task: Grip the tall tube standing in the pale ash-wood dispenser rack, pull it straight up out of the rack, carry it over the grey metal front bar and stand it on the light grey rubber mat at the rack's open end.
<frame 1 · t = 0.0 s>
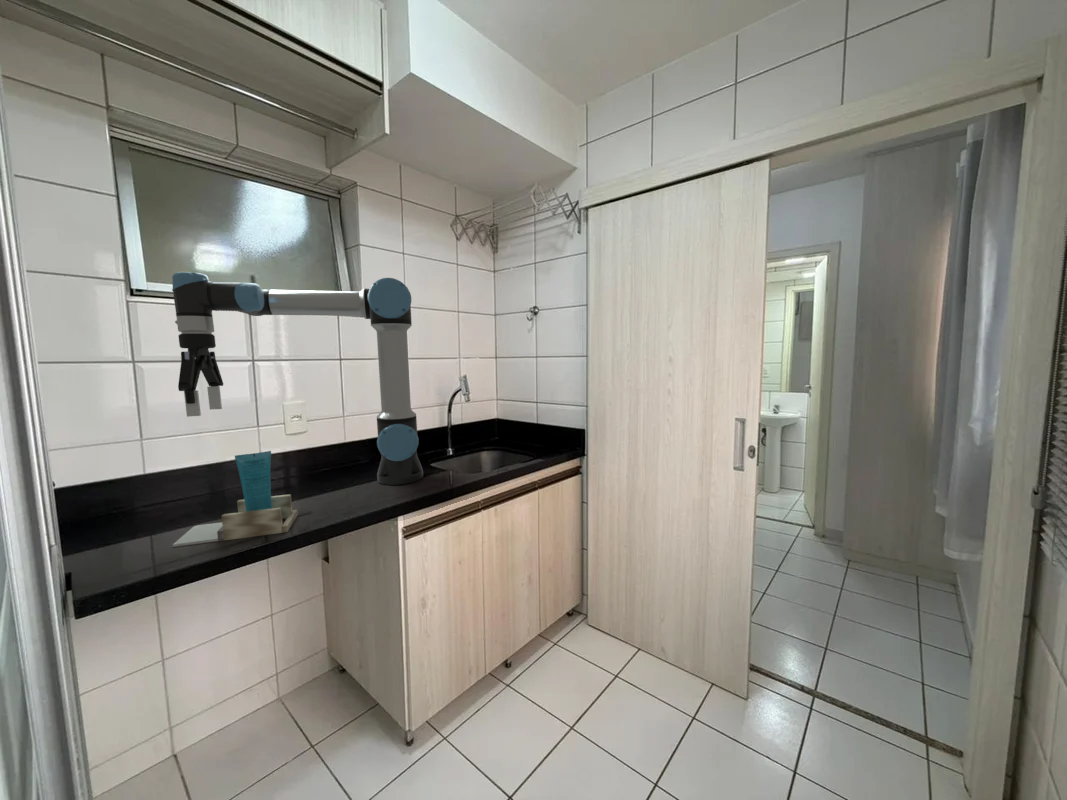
hand: (205, 412, 113), 28 cm above the countertop, fingers open, 13 cm apart
tube: (260, 528, 105), resting in rack
mat: (206, 534, 102), on the countertop
rack: (260, 527, 105), on the countertop
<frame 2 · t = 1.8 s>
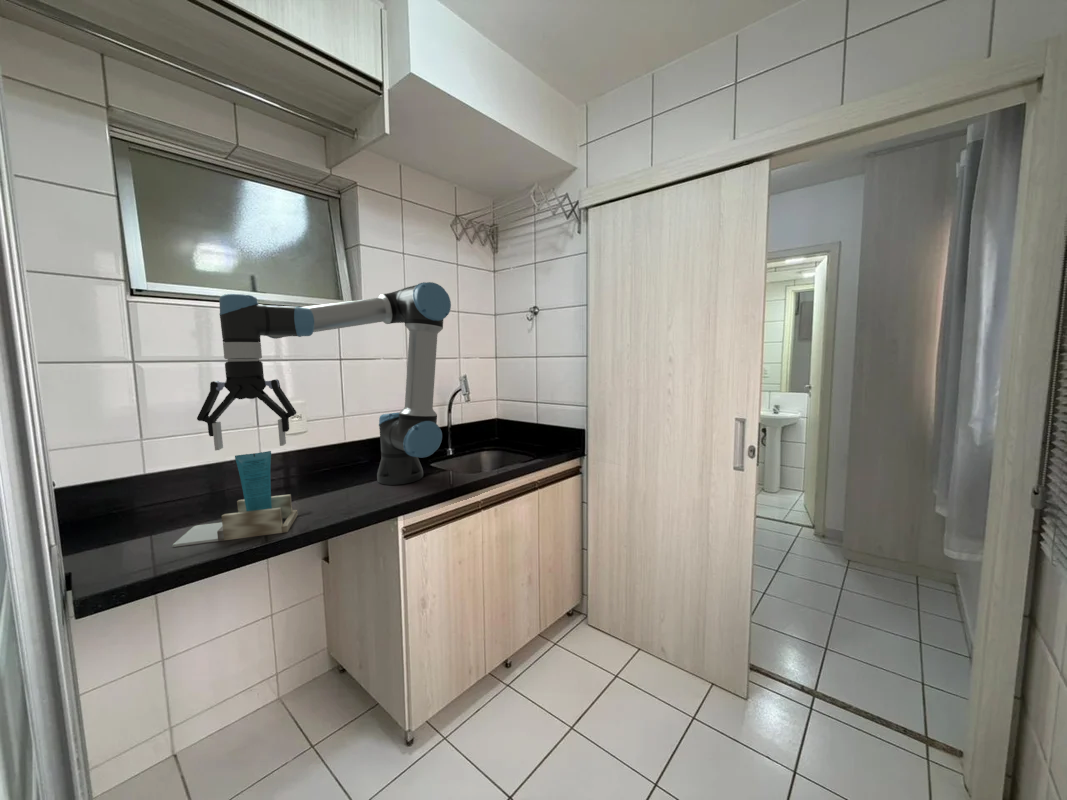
hand: (251, 447, 103), 21 cm above the countertop, fingers open, 13 cm apart
nothing on the countertop moved.
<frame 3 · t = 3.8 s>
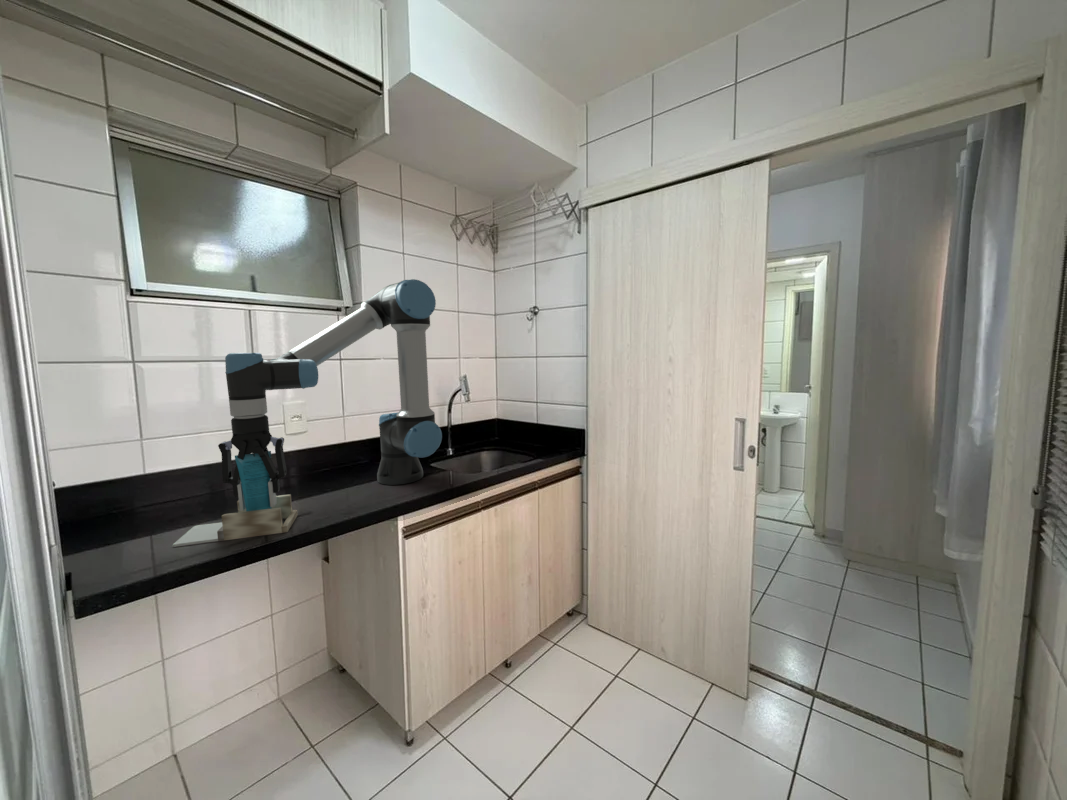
hand: (258, 506, 105), 5 cm above the countertop, fingers closed on tube, 6 cm apart
tube: (260, 528, 105), resting in rack, touching gripper
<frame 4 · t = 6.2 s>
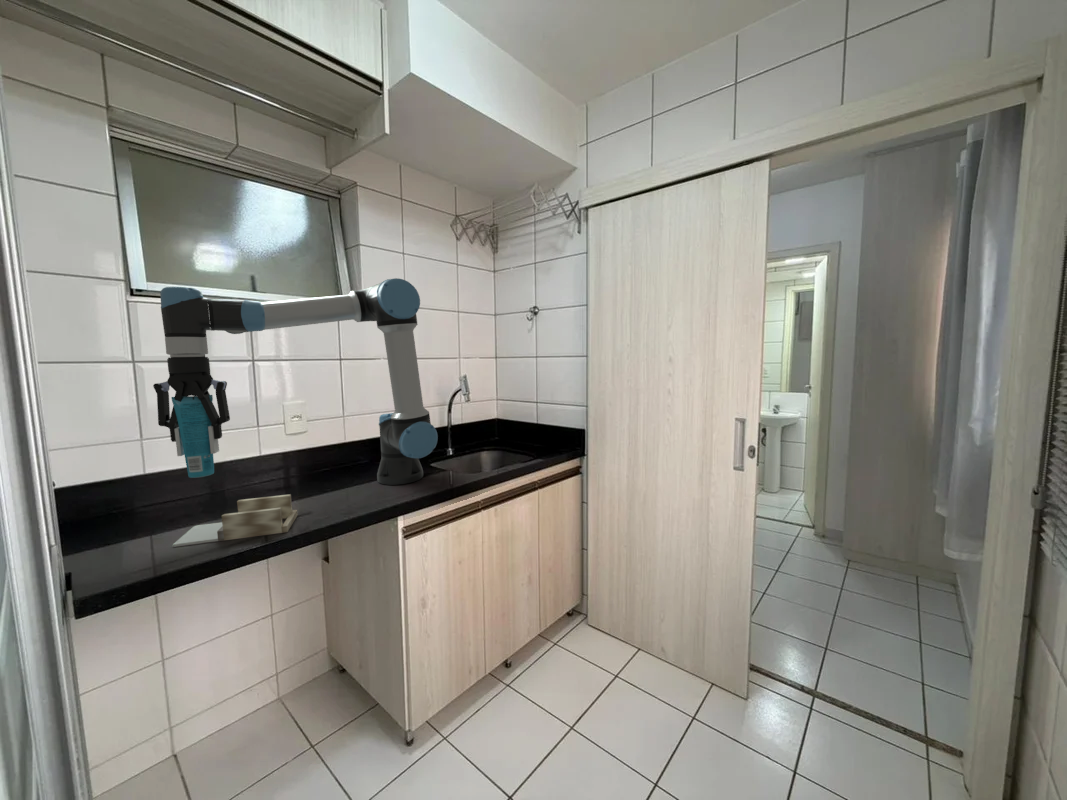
hand: (198, 453, 99), 20 cm above the countertop, fingers closed on tube, 6 cm apart
tube: (201, 476, 100), point 15 cm above the countertop, touching gripper
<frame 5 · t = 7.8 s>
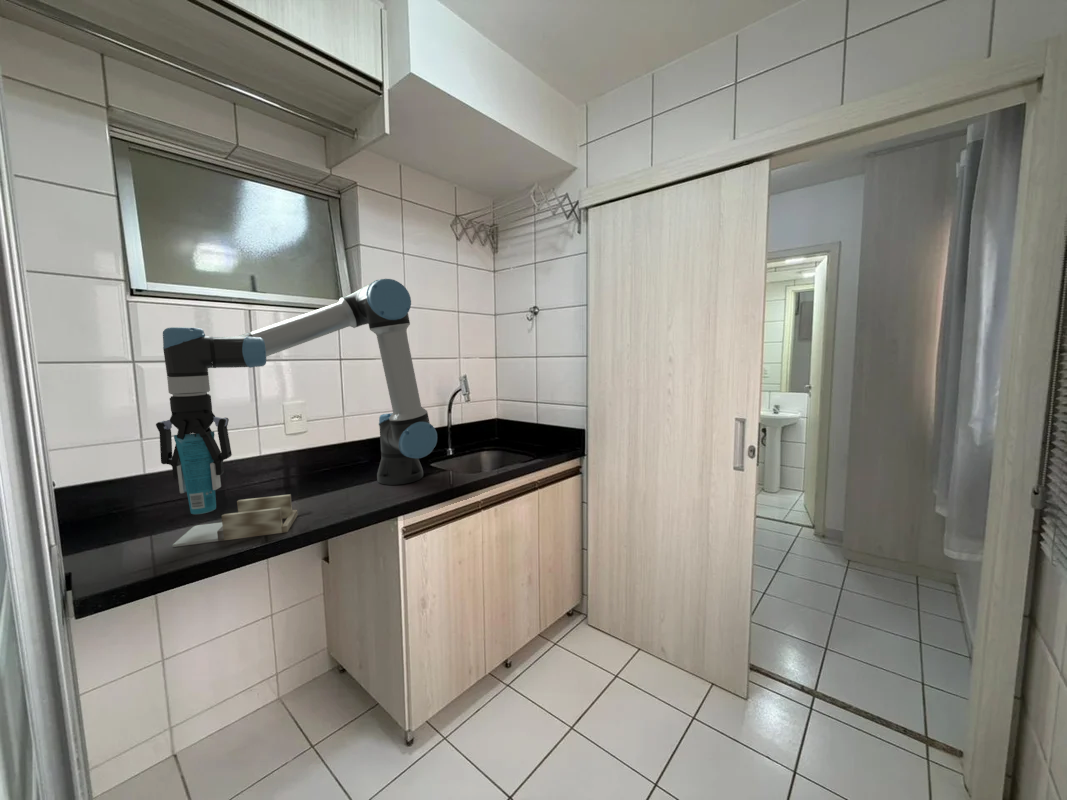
hand: (201, 489, 100), 11 cm above the countertop, fingers closed on tube, 6 cm apart
tube: (203, 511, 101), point 6 cm above the countertop, touching gripper
when the fingers open (7 cm above the countertop, at t = 8.9 s): tube drops 1 cm, point 1 cm above the countertop.
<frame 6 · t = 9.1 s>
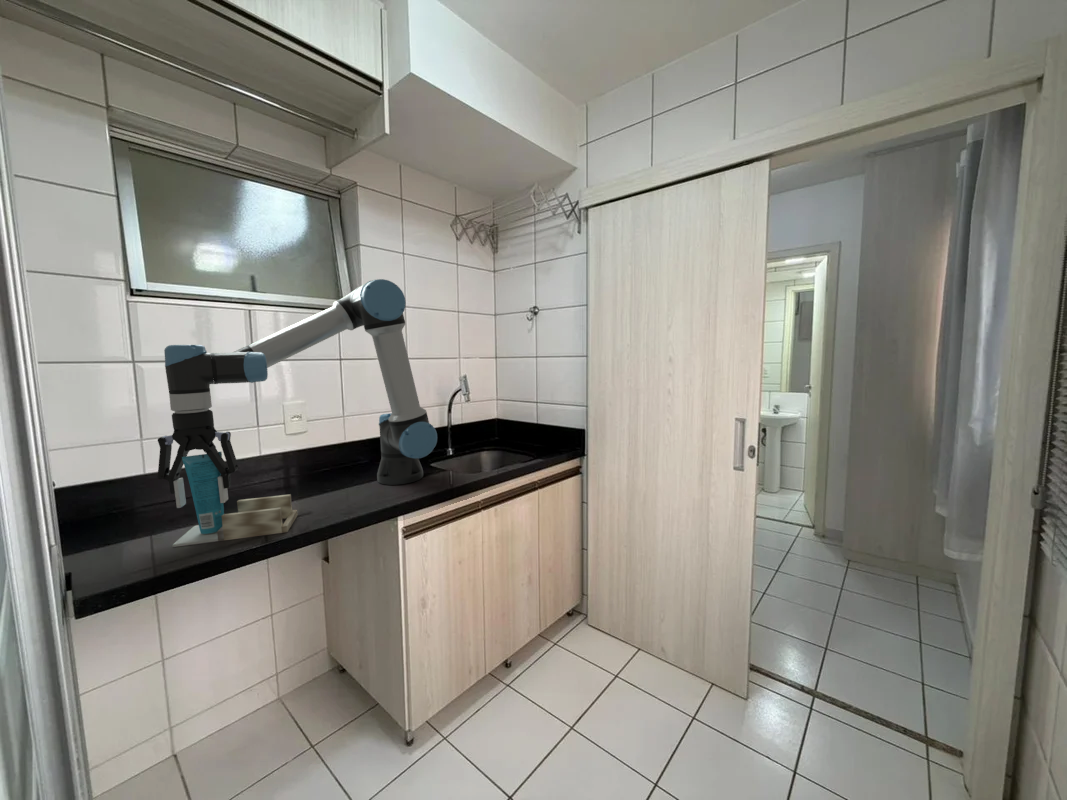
hand: (203, 503, 101), 8 cm above the countertop, fingers open, 8 cm apart
tube: (212, 531, 102), point 1 cm above the countertop, touching gripper
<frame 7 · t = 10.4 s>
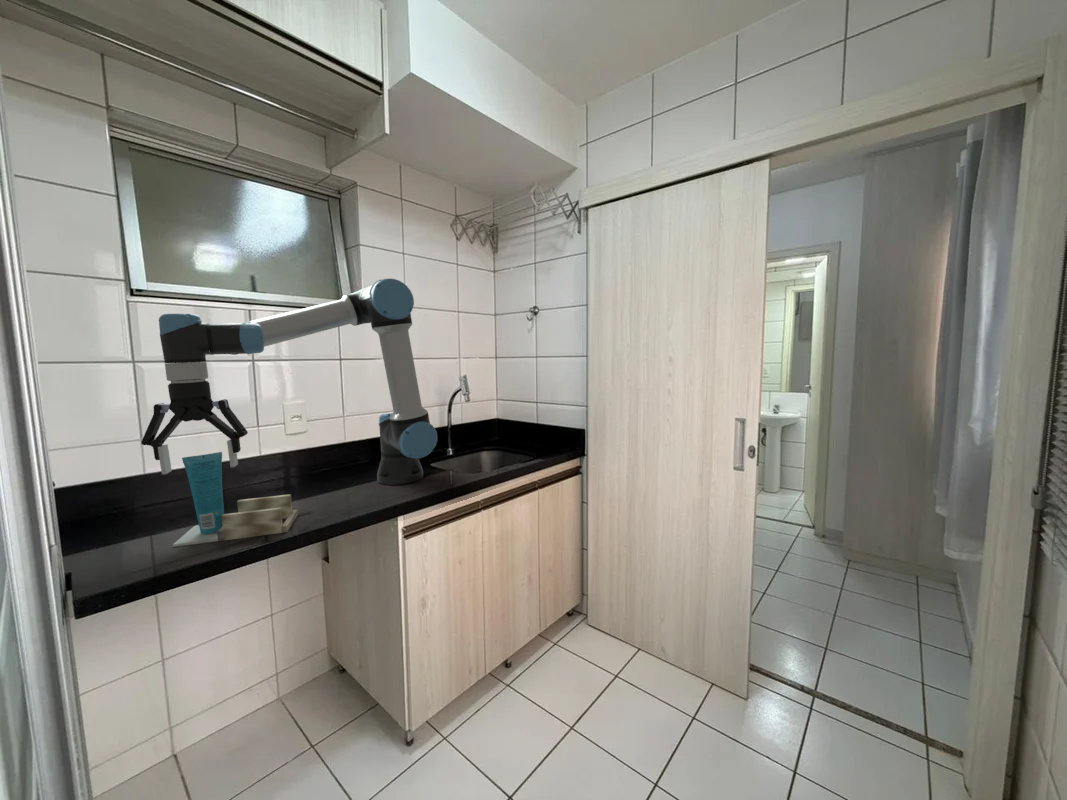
hand: (201, 469, 100), 16 cm above the countertop, fingers open, 13 cm apart
tube: (212, 530, 103), resting on mat
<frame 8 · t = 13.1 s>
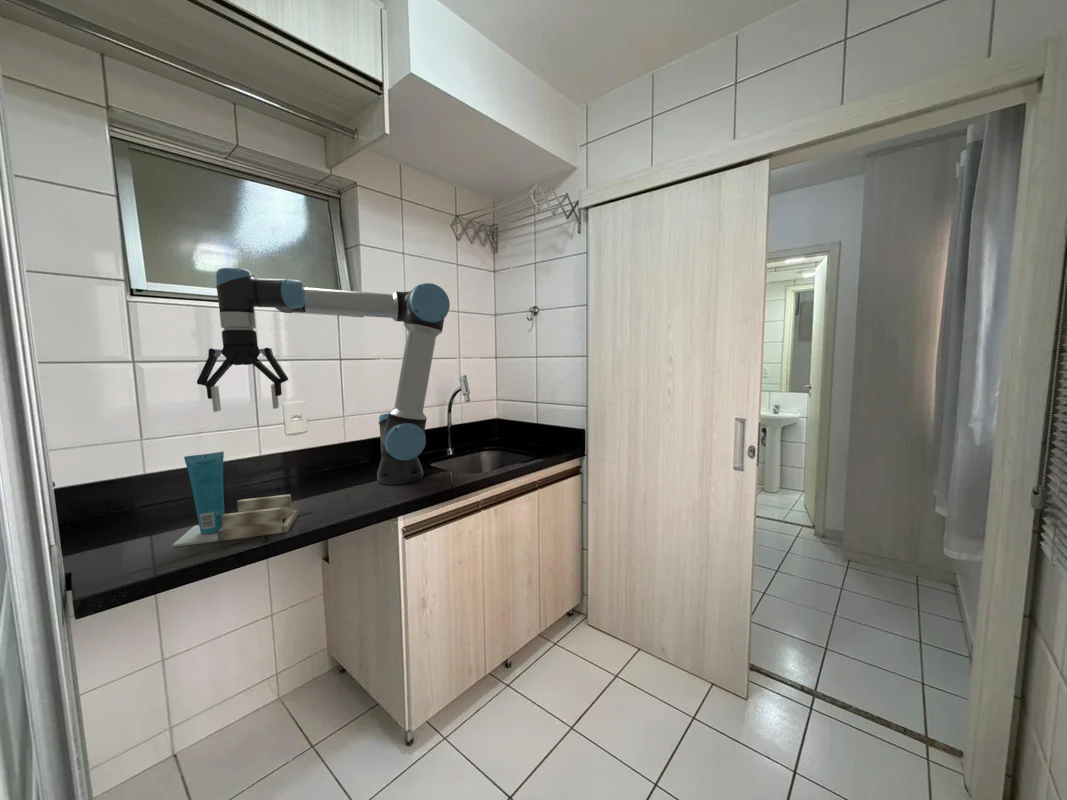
hand: (247, 409, 112), 29 cm above the countertop, fingers open, 13 cm apart
at the end: tube inside the target area on the mat (1.3 cm from its centre), point 0.4 cm above the mat's base; tube tilted 1°; the gripper is holding nothing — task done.
